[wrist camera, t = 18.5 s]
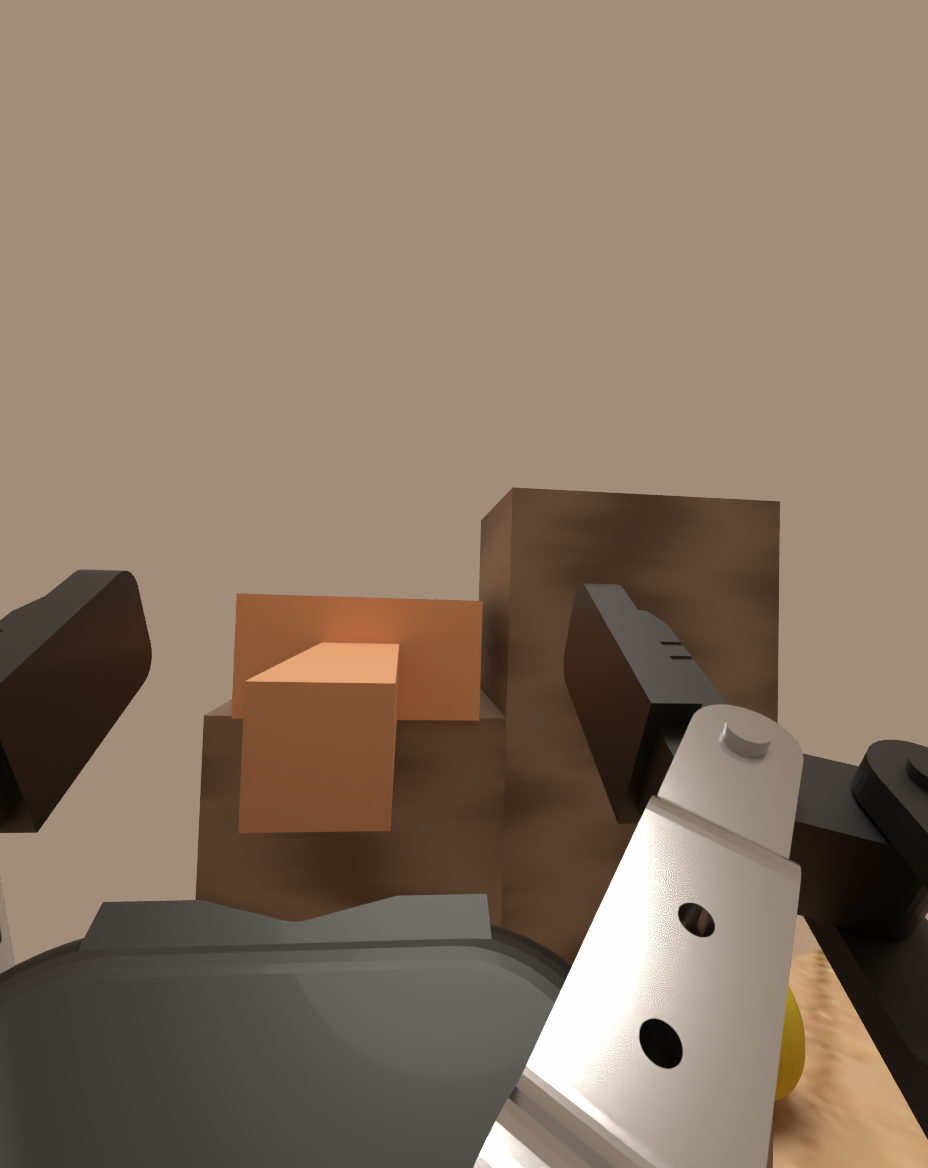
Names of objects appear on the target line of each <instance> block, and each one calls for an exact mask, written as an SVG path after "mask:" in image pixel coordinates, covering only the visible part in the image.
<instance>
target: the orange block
mask: <svg viewBox="0 0 928 1168" xmlns="http://www.w3.org/2000/svg"><path fill="white" fill-rule="evenodd" d="M482 609H483V601H461V600H428V599H396V598H395V599H394V598H363V597H362V598H361V597H329V596H296V595H294V596H293V595H264V594H237V603H236V625H235V649H234V671H233V694H232V717H231V719H243V734H242V757H241V780H240V804H239V827H238V833H279V832H353V831H390V829H391V811H392V793H393V776H394V758H395V740H396V723H397V720H470V721H479V713H480V679H481V644H482Z"/></svg>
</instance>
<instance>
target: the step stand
mask: <svg viewBox="0 0 928 1168" xmlns="http://www.w3.org/2000/svg"><path fill="white" fill-rule="evenodd" d="M779 519H780V502H777V501H759V500H738V499H721V498H701V497H682V496H663V495H644V494H623V493H606V492H586V491H567V490H548V489H528V488H512V489H511V490H510V491H509V492H508V493H507V494H506V495H505V496H504V497H503V498H502V499H501V500H500V502H498V504H496V506H495V507H494V508H493V509H492V510H491V511H490V512H489V513H488V514H487V515H486V516H485V517H484V518H483V519H482V520H481V548H480V549H481V550H480V582H479V601H483V609H482V644H481V679H480V713H479V721H470V720H397V723H396V740H395V758H394V776H393V793H392V811H391V829H390V831H353V832H279V833H238V827H239V804H240V780H241V757H242V734H243V719H231V717H232V700H230V701H229V702H227V703H225V704H223V705H222V706H220V707H218V708H216V709H215V710H213V711H211V712H209V713H208V714H206V715H204V729H203V750H202V773H201V795H200V816H199V839H198V860H197V861H198V862H197V882H196V884H197V885H196V900H203V901H208V902H212V903H216V904H220V905H224V906H228V907H232V908H236V909H240V910H244V911H248V912H252V913H256V914H260V915H264V916H268V917H272V918H276V919H280V920H285V921H290V922H300V921H305V920H310V919H313V918H317V917H321V916H324V915H328V914H332V913H335V912H339V911H343V910H346V909H350V908H354V907H357V906H361V905H365V904H368V903H372V902H376V901H379V900H383V899H387V898H390V897H394V896H408V895H453V894H487V901H488V910H489V919H490V925H494V926H498V927H501V928H505V929H508V930H510V931H513V932H515V933H518V934H521V935H523V936H526V937H528V938H530V939H531V940H533V941H535V942H537V943H539V944H541V945H543V946H545V947H546V948H548V949H549V950H551V951H552V952H554V953H555V954H557V955H558V956H560V957H561V958H563V959H564V960H565V961H567V962H568V963H569V964H570V965H571V966H573V964H574V962H575V960H576V957H577V955H578V953H579V951H580V949H581V947H582V944H583V942H584V940H585V938H586V936H587V934H588V931H589V929H590V927H591V925H592V923H593V921H594V918H595V916H596V914H597V912H598V910H599V908H600V905H601V903H602V901H603V899H604V897H605V895H606V893H607V890H608V888H609V886H610V884H611V882H612V880H613V877H614V875H615V873H616V871H617V869H618V867H619V864H620V862H621V860H622V858H623V856H624V854H625V851H626V849H627V847H628V845H629V843H630V841H631V838H632V836H633V834H634V832H635V830H636V828H637V825H638V824H618V823H617V820H616V817H615V815H614V812H613V809H612V807H611V804H610V801H609V799H608V796H607V793H606V791H605V788H604V785H603V783H602V780H601V777H600V775H599V772H598V769H597V766H596V764H595V761H594V758H593V756H592V753H591V750H590V748H589V745H588V742H587V740H586V737H585V734H584V732H583V729H582V726H581V724H580V721H579V718H578V716H577V713H576V710H575V708H574V705H573V702H572V699H571V697H570V694H569V691H568V689H567V686H566V683H565V677H564V652H565V646H566V641H567V635H568V629H569V624H570V618H571V613H572V607H573V601H574V596H575V592H576V589H577V587H578V585H579V584H581V583H582V584H616V585H621V586H622V588H623V589H624V590H625V592H626V593H627V595H628V596H629V598H630V599H631V601H632V602H633V603H634V605H635V606H636V608H637V609H638V610H643V611H648V612H650V613H651V614H653V615H654V616H655V617H657V618H658V619H660V620H661V621H663V622H664V623H666V624H667V625H668V626H669V627H670V628H671V630H672V631H673V632H674V634H675V635H676V636H677V638H678V639H679V640H680V642H681V645H682V646H684V647H685V648H686V650H687V651H688V652H689V654H690V655H691V659H692V660H695V662H696V663H697V664H698V666H699V667H700V668H701V670H702V671H703V672H704V674H705V675H706V676H707V678H708V679H709V680H710V682H711V683H712V684H713V686H714V687H715V688H716V690H717V691H718V692H719V694H720V695H721V696H722V698H723V699H724V700H725V702H726V703H727V704H728V705H732V706H738V707H742V708H746V709H749V710H752V711H754V712H757V713H759V714H762V715H764V716H766V717H767V718H769V719H771V720H773V721H774V722H776V723H777V717H778V714H777V713H778V711H777V710H778V625H779V624H778V623H779V616H778V615H779V532H780V531H779V530H780V520H779ZM766 1168H773V1116H772V1125H771V1133H770V1141H769V1150H768V1158H767V1166H766Z"/></svg>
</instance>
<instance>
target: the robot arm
mask: <svg viewBox="0 0 928 1168" xmlns="http://www.w3.org/2000/svg"><path fill="white" fill-rule="evenodd" d="M151 658H152V651H151V643H150V639H149V634H148V630H147V625H146V621H145V617H144V613H143V607H142V603H141V598H140V594H139V589H138V585H137V582H136V580H135V578H134V576H133V575H132V574H131V573H130V572H128V571H113V570H111V571H110V570H78V571H76V572H75V573H73V574H72V575H71V576H70V577H68V578H67V579H66V580H65V581H63V582H62V583H61V584H60V585H58V586H57V587H56V588H55V589H53V590H52V591H51V592H50V593H48V594H47V595H46V596H44V597H42V598H40V599H38V600H36V601H33V602H31V603H29V604H27V605H25V606H23V607H20V608H18V609H16V610H14V611H12V612H10V613H9V614H8V615H6V616H5V617H4V618H3V619H1V620H0V833H30V832H31V833H32V832H38V831H39V829H40V828H41V827H42V825H43V824H44V822H45V821H46V820H47V818H48V817H49V815H50V814H51V812H52V811H53V810H54V808H55V807H56V805H57V804H58V803H59V801H60V800H61V798H62V797H63V795H64V794H65V793H66V791H67V790H68V789H69V787H70V786H71V784H72V783H73V782H74V780H75V779H76V777H77V776H78V774H79V773H80V772H81V770H82V769H83V768H84V766H85V765H86V763H87V762H88V761H89V759H90V758H91V756H92V755H93V754H94V752H95V751H96V749H97V748H98V746H99V745H100V744H101V742H102V741H103V739H104V738H105V737H106V735H107V734H108V732H109V731H110V730H111V728H112V727H113V725H114V724H115V723H116V721H117V720H118V718H119V717H120V716H121V714H122V713H123V711H124V710H125V709H126V707H127V706H128V704H129V703H130V702H131V700H132V699H133V697H134V696H135V695H136V693H137V692H138V690H139V689H140V688H141V686H142V685H143V683H144V682H145V680H146V678H147V676H148V674H149V670H150V666H151ZM564 677H565V683H566V686H567V689H568V691H569V694H570V697H571V699H572V702H573V705H574V708H575V710H576V713H577V716H578V718H579V721H580V724H581V726H582V729H583V732H584V734H585V737H586V740H587V742H588V745H589V748H590V750H591V753H592V756H593V758H594V761H595V764H596V766H597V769H598V772H599V775H600V777H601V780H602V783H603V785H604V788H605V791H606V793H607V796H608V799H609V801H610V804H611V807H612V809H613V812H614V815H615V817H616V820H617V823H618V824H638V825H637V828H636V830H635V832H634V834H633V836H632V838H631V841H630V843H629V845H628V847H627V849H626V851H625V854H624V856H623V858H622V860H621V862H620V864H619V867H618V869H617V871H616V873H615V875H614V877H613V880H612V882H611V884H610V886H609V888H608V890H607V893H606V895H605V897H604V899H603V901H602V903H601V905H600V908H599V910H598V912H597V914H596V916H595V918H594V921H593V923H592V925H591V927H590V929H589V931H588V934H587V936H586V938H585V940H584V942H583V944H582V947H581V949H580V951H579V953H578V955H577V957H576V960H575V962H574V964H573V966H571V965H570V964H569V963H568V962H567V961H565V960H564V959H563V958H561V957H560V956H558V955H557V954H555V953H554V952H552V951H551V950H549V949H548V948H546V947H545V946H543V945H541V944H539V943H537V942H535V941H533V940H531V939H530V938H528V937H526V936H523V935H521V934H518V933H515V932H513V931H510V930H508V929H505V928H501V927H498V926H494V925H490V919H489V910H488V901H487V894H453V895H408V896H394V897H390V898H387V899H383V900H379V901H376V902H372V903H368V904H365V905H361V906H357V907H354V908H350V909H346V910H343V911H339V912H335V913H332V914H328V915H324V916H321V917H317V918H313V919H310V920H305V921H300V922H290V921H285V920H280V919H276V918H272V917H268V916H264V915H260V914H256V913H252V912H248V911H244V910H240V909H236V908H232V907H228V906H224V905H220V904H216V903H212V902H208V901H203V900H182V901H142V902H141V901H138V902H103V903H102V905H101V907H100V909H99V911H98V913H97V915H96V917H95V918H94V920H93V922H92V924H91V926H90V928H89V930H88V932H87V934H86V936H85V938H82V939H79V940H75V941H72V942H70V943H67V944H64V945H61V946H59V947H56V948H53V949H51V950H48V951H45V952H43V953H41V954H39V955H37V956H34V957H32V958H30V959H28V960H26V961H24V962H22V963H19V964H17V965H15V961H14V956H13V950H12V944H11V938H10V932H9V926H8V920H7V914H6V908H5V902H4V896H3V890H2V884H1V878H0V1168H766V1166H767V1158H768V1150H769V1141H770V1133H771V1125H772V1116H773V1108H774V1100H775V1091H776V1083H777V1075H778V1066H779V1058H780V1050H781V1042H782V1033H783V1025H784V1017H785V1008H786V1000H787V992H788V983H789V975H790V967H791V958H792V950H793V942H794V933H795V924H796V917H797V914H798V915H801V916H804V918H805V920H806V922H807V924H808V925H809V927H810V929H811V931H812V933H813V934H814V936H815V938H816V940H817V942H818V943H819V945H820V947H821V949H822V951H823V952H824V954H825V956H826V958H827V960H828V961H829V963H830V965H831V967H832V969H833V970H834V972H835V974H836V976H837V978H838V979H839V981H840V983H841V985H842V986H843V988H844V990H845V992H846V994H847V995H848V997H849V999H850V1001H851V1003H852V1004H853V1006H854V1008H855V1010H856V1012H857V1013H858V1015H859V1017H860V1019H861V1021H862V1022H863V1024H864V1026H865V1028H866V1030H867V1031H868V1033H869V1035H870V1037H871V1039H872V1040H873V1042H874V1044H875V1046H876V1048H877V1049H878V1051H879V1053H880V1055H881V1057H882V1058H883V1060H884V1062H885V1064H886V1066H887V1067H888V1069H889V1071H890V1073H891V1075H892V1076H893V1078H894V1080H895V1082H896V1083H897V1085H898V1087H899V1089H900V1091H901V1092H902V1094H903V1096H904V1098H905V1100H906V1101H907V1103H908V1105H909V1107H910V1109H911V1110H912V1112H913V1114H914V1116H915V1118H916V1119H917V1121H918V1123H919V1125H920V1127H921V1128H922V1130H923V1132H924V1134H925V1136H926V1137H927V1139H928V921H927V919H926V918H925V916H926V914H927V913H928V748H927V747H924V746H922V745H918V744H915V743H910V742H906V741H900V740H882V741H877V742H875V743H873V744H872V745H871V746H869V748H868V750H867V752H866V754H865V756H864V758H863V760H862V762H861V764H860V765H859V767H858V766H855V765H850V764H846V763H841V762H837V761H832V760H828V759H824V758H820V757H815V756H811V755H806V754H803V753H802V749H801V748H800V746H799V744H798V742H797V741H796V740H795V739H794V737H793V736H792V735H790V733H789V732H788V731H787V730H785V729H784V728H783V727H782V726H780V725H779V724H777V723H776V722H774V721H773V720H771V719H769V718H767V717H766V716H764V715H762V714H759V713H757V712H754V711H752V710H749V709H746V708H742V707H738V706H732V705H728V704H727V703H726V702H725V700H724V699H723V698H722V696H721V695H720V694H719V692H718V691H717V690H716V688H715V687H714V686H713V684H712V683H711V682H710V680H709V679H708V678H707V676H706V675H705V674H704V672H703V671H702V670H701V668H700V667H699V666H698V664H697V663H696V662H695V660H692V659H691V655H690V654H689V652H688V651H687V650H686V648H685V647H684V646H682V645H681V642H680V640H679V639H678V638H677V636H676V635H675V634H674V632H673V631H672V630H671V628H670V627H669V626H668V625H667V624H666V623H664V622H663V621H661V620H660V619H658V618H657V617H655V616H654V615H653V614H651V613H650V612H648V611H643V610H638V609H637V608H636V606H635V605H634V603H633V602H632V601H631V599H630V598H629V596H628V595H627V593H626V592H625V590H624V589H623V588H622V586H621V585H616V584H582V583H581V584H579V585H578V587H577V589H576V592H575V596H574V601H573V607H572V613H571V618H570V624H569V629H568V635H567V641H566V646H565V652H564Z"/></svg>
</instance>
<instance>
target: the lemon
mask: <svg viewBox="0 0 928 1168" xmlns="http://www.w3.org/2000/svg"><path fill="white" fill-rule="evenodd" d="M804 1062H805V1033H804V1027H803V1021H802V1017H801V1014H800V1010H799V1007H798V1005H797V1002H796V1000H795V997H794V995H793V993H792V991H791V989H790V988H789V986H788V992H787V1000H786V1008H785V1017H784V1025H783V1033H782V1042H781V1050H780V1058H779V1066H778V1075H777V1083H776V1091H775V1100H774V1101H777V1100H780V1099H782V1098H784V1097H785V1096H787V1095H788V1094H789V1093H791V1092H792V1091H793V1089H794V1088H795V1086H796V1085H797V1083H798V1081H799V1079H800V1077H801V1074H802V1072H803V1067H804Z"/></svg>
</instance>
